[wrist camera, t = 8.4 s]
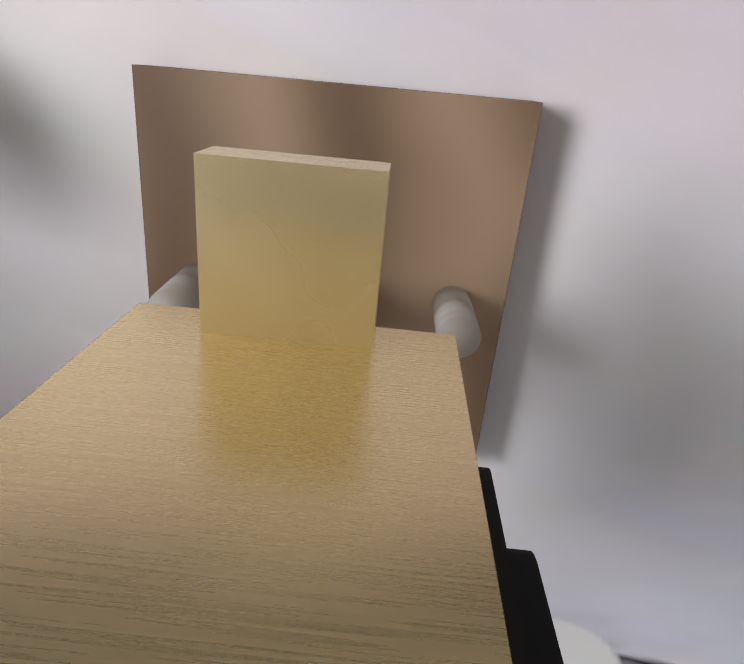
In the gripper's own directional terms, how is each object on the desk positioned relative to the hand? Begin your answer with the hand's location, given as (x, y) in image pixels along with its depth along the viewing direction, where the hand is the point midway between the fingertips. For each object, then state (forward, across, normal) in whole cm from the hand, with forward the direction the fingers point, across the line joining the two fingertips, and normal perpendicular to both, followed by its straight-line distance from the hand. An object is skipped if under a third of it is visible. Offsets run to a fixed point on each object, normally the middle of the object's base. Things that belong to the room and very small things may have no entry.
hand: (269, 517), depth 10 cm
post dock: (+13, +1, 0) cm, 13 cm away
